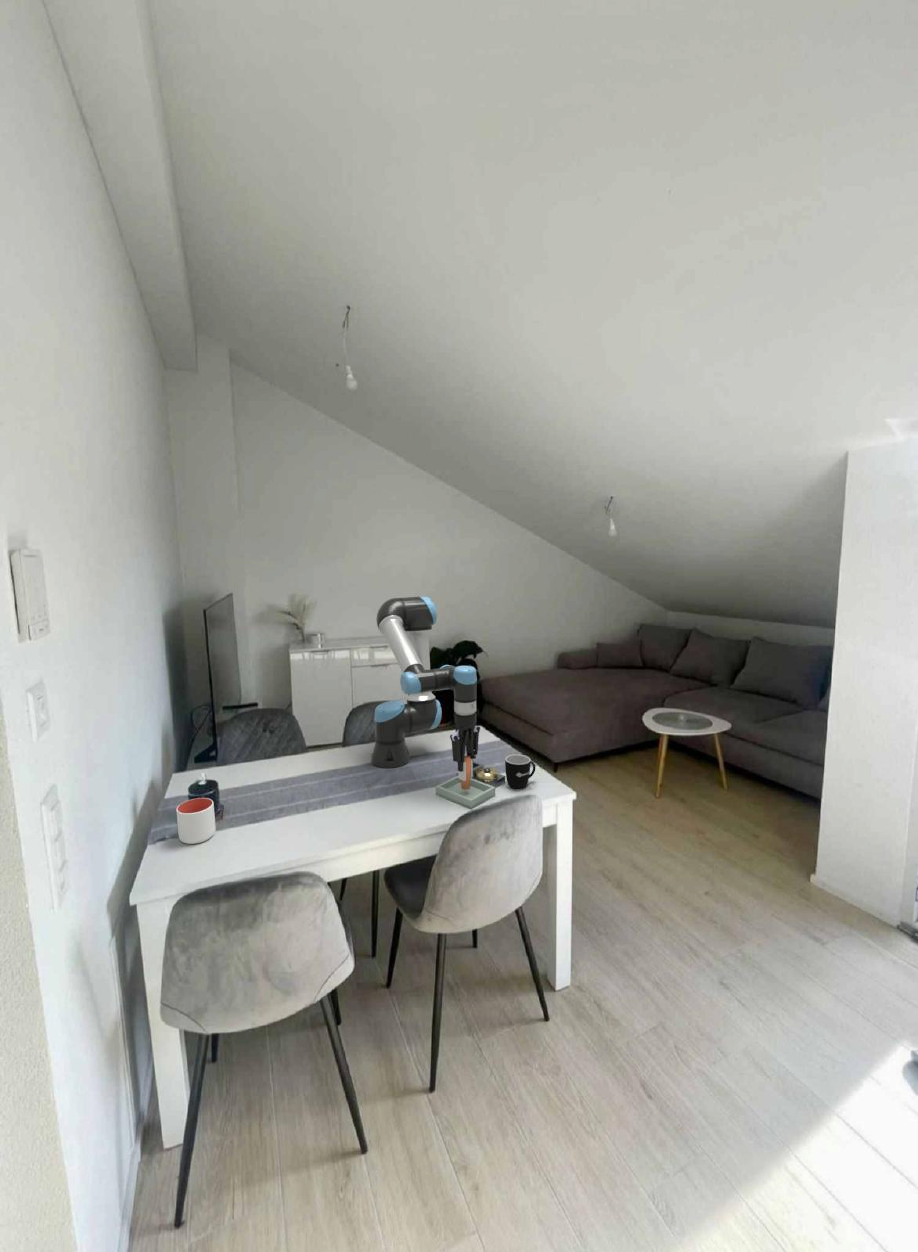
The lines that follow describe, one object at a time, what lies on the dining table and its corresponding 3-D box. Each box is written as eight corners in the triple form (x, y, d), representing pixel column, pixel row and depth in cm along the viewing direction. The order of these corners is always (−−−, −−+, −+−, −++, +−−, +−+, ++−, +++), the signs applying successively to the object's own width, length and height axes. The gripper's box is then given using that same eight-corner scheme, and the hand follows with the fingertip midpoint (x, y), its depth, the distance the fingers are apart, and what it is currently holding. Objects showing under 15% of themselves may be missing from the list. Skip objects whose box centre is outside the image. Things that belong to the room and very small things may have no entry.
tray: (435, 794, 193) (435, 786, 193) (460, 782, 203) (460, 774, 203) (471, 809, 183) (471, 800, 182) (495, 795, 193) (495, 787, 192)
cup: (187, 828, 171) (184, 798, 170) (220, 827, 172) (218, 797, 171) (173, 846, 162) (170, 814, 160) (209, 845, 162) (206, 813, 161)
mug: (513, 793, 194) (514, 766, 192) (500, 783, 202) (500, 757, 200) (542, 786, 199) (542, 759, 198) (527, 776, 207) (528, 751, 206)
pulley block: (505, 782, 203) (505, 768, 202) (488, 791, 195) (488, 777, 194) (473, 771, 212) (473, 757, 212) (456, 779, 205) (456, 765, 204)
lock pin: (459, 787, 192) (459, 757, 190) (465, 784, 195) (465, 754, 193) (466, 790, 190) (466, 760, 188) (472, 787, 192) (472, 757, 191)
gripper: (458, 720, 180) (458, 788, 184) (488, 708, 192) (488, 773, 195) (441, 715, 185) (441, 782, 188) (471, 704, 196) (472, 767, 200)
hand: (465, 777), depth 192 cm, fingers closed on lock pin, 3 cm apart
